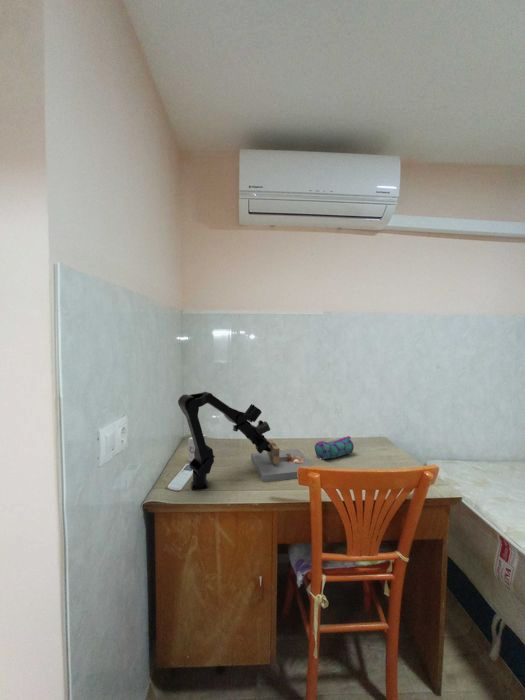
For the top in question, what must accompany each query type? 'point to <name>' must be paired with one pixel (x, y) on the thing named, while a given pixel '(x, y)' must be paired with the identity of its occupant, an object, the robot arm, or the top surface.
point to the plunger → (276, 453)
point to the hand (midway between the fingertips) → (270, 450)
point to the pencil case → (334, 448)
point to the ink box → (193, 448)
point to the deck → (279, 465)
